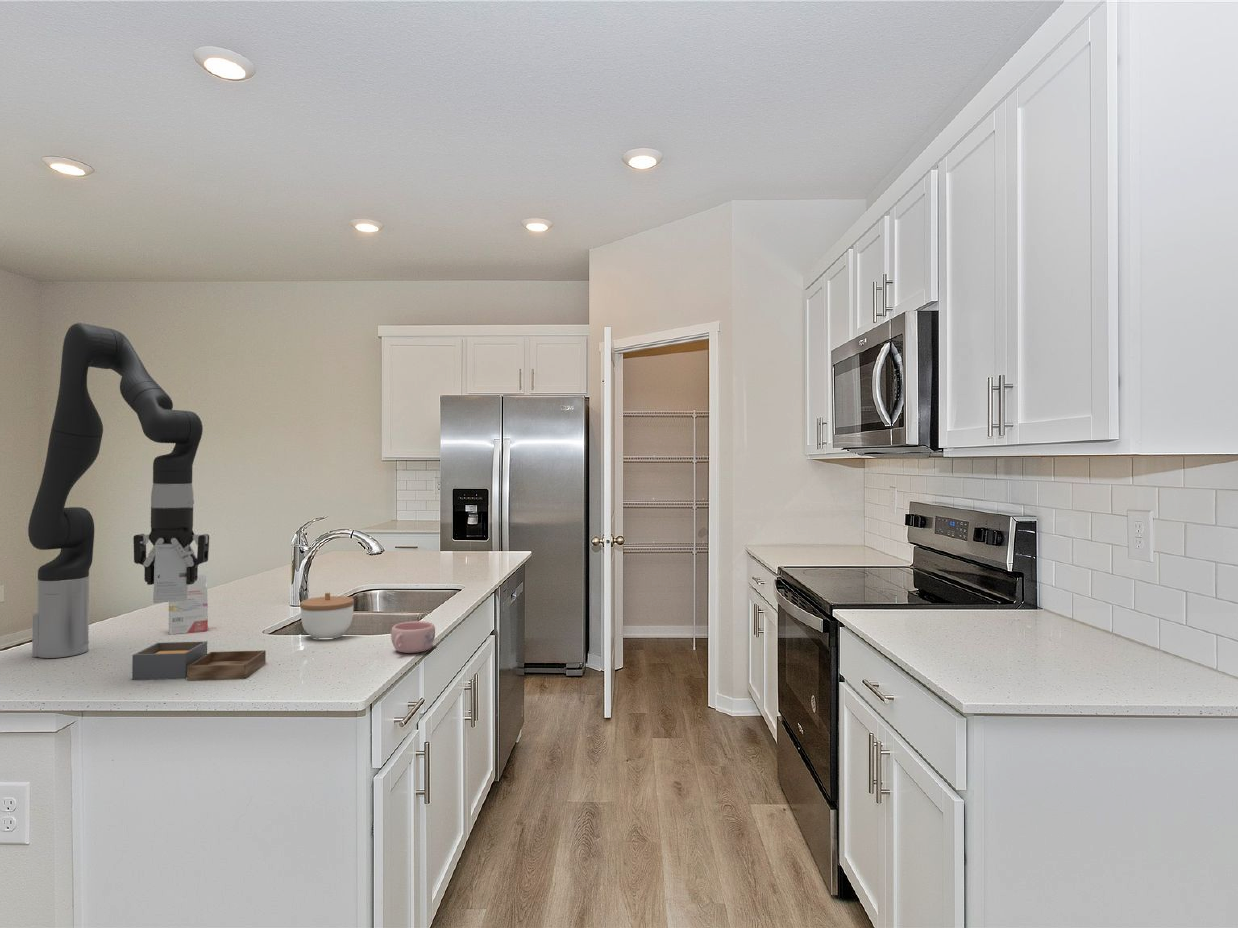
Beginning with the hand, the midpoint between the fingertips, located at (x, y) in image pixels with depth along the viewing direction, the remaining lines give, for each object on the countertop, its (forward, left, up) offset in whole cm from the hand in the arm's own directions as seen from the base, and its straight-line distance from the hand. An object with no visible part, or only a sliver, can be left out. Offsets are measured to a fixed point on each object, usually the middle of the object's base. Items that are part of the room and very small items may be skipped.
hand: (171, 583), depth 148 cm
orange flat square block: (0, 0, -17) cm, 17 cm away
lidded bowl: (+24, +28, -19) cm, 41 cm away
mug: (+47, +11, -19) cm, 52 cm away
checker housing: (0, 0, -18) cm, 18 cm away
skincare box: (0, 0, -4) cm, 4 cm away
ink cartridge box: (-13, +38, -19) cm, 44 cm away
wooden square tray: (+12, -1, -18) cm, 22 cm away
